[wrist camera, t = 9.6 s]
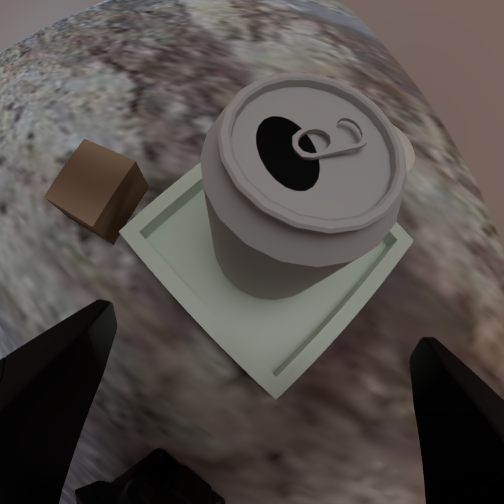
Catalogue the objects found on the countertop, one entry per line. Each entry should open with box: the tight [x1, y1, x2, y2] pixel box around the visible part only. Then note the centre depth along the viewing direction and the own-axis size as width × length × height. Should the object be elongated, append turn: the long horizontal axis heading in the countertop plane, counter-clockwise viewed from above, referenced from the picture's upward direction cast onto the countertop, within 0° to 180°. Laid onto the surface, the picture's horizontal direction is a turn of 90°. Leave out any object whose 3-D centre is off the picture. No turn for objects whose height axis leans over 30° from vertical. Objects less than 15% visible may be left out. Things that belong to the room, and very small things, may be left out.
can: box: [200, 73, 407, 300], centre depth 14 cm, size 8×8×12 cm
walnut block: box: [44, 139, 149, 245], centre depth 20 cm, size 5×5×4 cm
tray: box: [119, 162, 414, 399], centre depth 20 cm, size 14×14×2 cm
